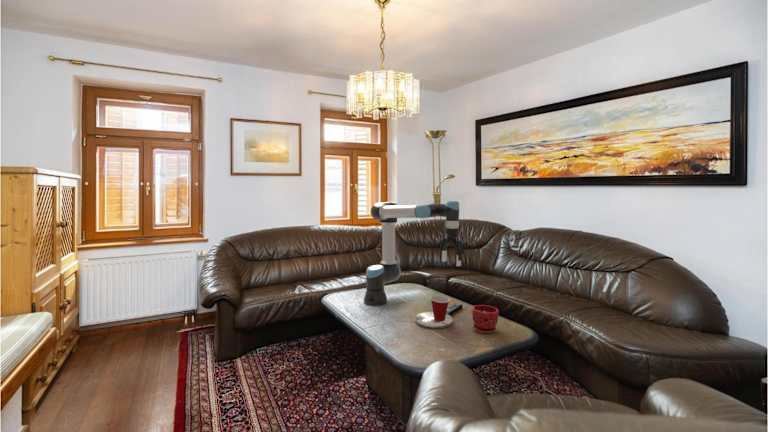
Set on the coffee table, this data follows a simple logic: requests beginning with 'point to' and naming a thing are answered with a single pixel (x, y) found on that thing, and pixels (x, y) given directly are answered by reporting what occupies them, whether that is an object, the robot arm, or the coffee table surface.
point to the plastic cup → (439, 307)
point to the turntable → (432, 320)
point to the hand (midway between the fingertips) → (451, 263)
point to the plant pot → (485, 318)
